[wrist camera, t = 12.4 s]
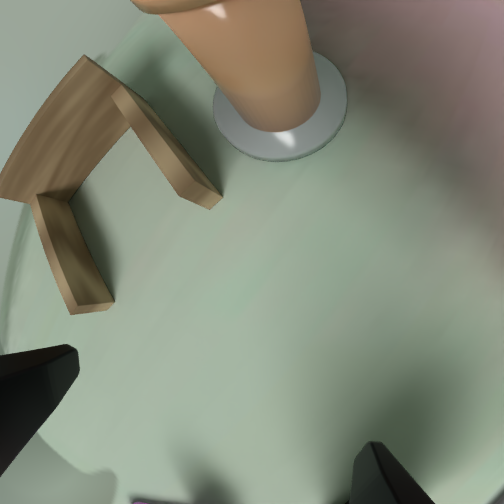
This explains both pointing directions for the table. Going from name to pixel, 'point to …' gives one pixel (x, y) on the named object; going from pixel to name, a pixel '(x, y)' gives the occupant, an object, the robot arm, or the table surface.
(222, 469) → the table surface
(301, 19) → the terracotta pot
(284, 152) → the grey saucer
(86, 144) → the wooden cradle holder
